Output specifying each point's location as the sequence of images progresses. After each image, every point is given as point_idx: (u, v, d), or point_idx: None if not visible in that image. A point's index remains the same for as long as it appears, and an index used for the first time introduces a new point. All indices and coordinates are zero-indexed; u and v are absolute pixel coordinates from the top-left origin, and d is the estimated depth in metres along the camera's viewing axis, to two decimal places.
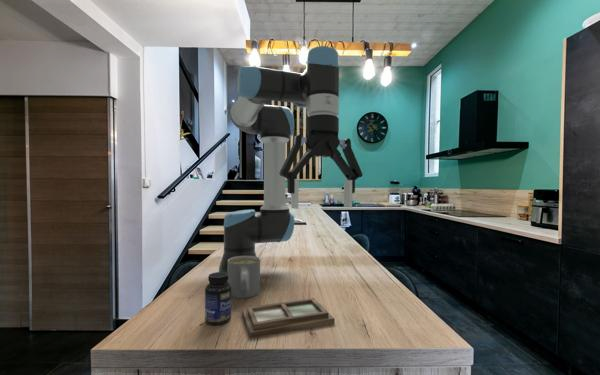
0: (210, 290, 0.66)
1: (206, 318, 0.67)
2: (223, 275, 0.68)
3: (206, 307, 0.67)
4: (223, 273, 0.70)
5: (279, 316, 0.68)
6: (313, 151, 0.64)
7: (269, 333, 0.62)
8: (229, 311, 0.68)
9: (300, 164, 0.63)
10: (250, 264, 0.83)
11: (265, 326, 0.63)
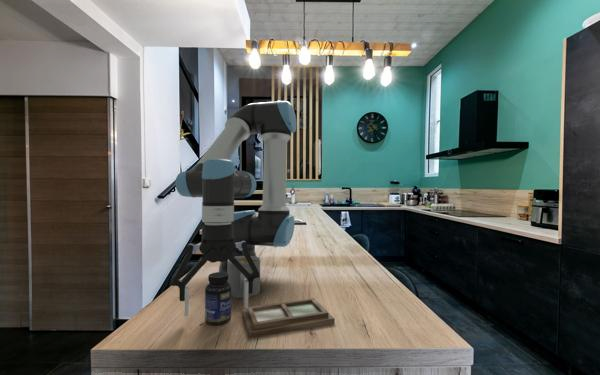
0: (210, 290, 0.66)
1: (206, 318, 0.67)
2: (223, 275, 0.68)
3: (206, 307, 0.67)
4: (223, 273, 0.70)
5: (279, 316, 0.68)
6: (204, 260, 0.66)
7: (269, 333, 0.62)
8: (229, 311, 0.68)
9: (191, 273, 0.66)
10: None
11: (265, 326, 0.63)
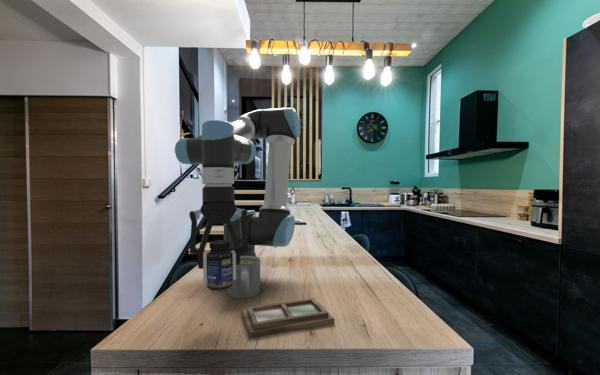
0: (211, 256, 0.66)
1: (207, 284, 0.67)
2: (224, 242, 0.69)
3: (207, 273, 0.67)
4: (224, 241, 0.70)
5: (279, 316, 0.68)
6: (210, 223, 0.67)
7: (269, 333, 0.62)
8: (230, 278, 0.68)
9: (203, 239, 0.67)
10: (250, 264, 0.83)
11: (265, 326, 0.63)
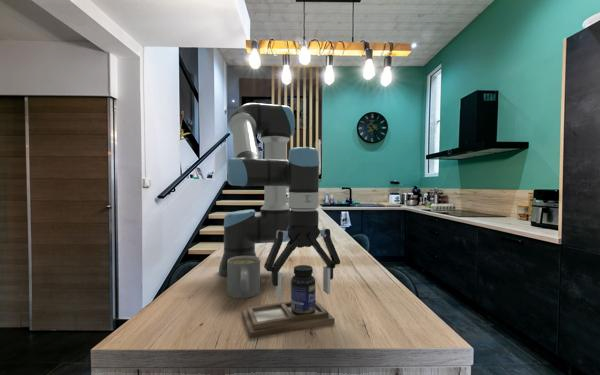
0: (299, 283, 0.68)
1: (294, 309, 0.69)
2: (308, 268, 0.70)
3: (294, 299, 0.69)
4: (306, 266, 0.72)
5: (279, 316, 0.68)
6: (294, 245, 0.68)
7: (269, 333, 0.62)
8: (315, 303, 0.70)
9: (282, 258, 0.68)
10: (250, 264, 0.83)
11: (265, 326, 0.63)
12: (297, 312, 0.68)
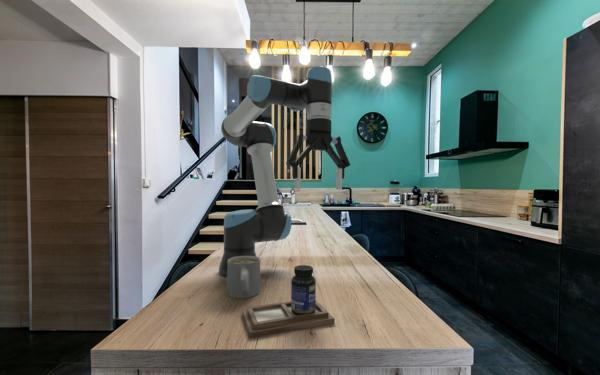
0: (299, 282, 0.68)
1: (294, 309, 0.69)
2: (309, 268, 0.70)
3: (294, 299, 0.69)
4: (307, 266, 0.72)
5: (279, 316, 0.68)
6: (312, 146, 0.84)
7: (269, 333, 0.62)
8: (315, 303, 0.70)
9: (302, 156, 0.83)
10: (250, 264, 0.83)
11: (265, 326, 0.63)
12: (297, 312, 0.68)
